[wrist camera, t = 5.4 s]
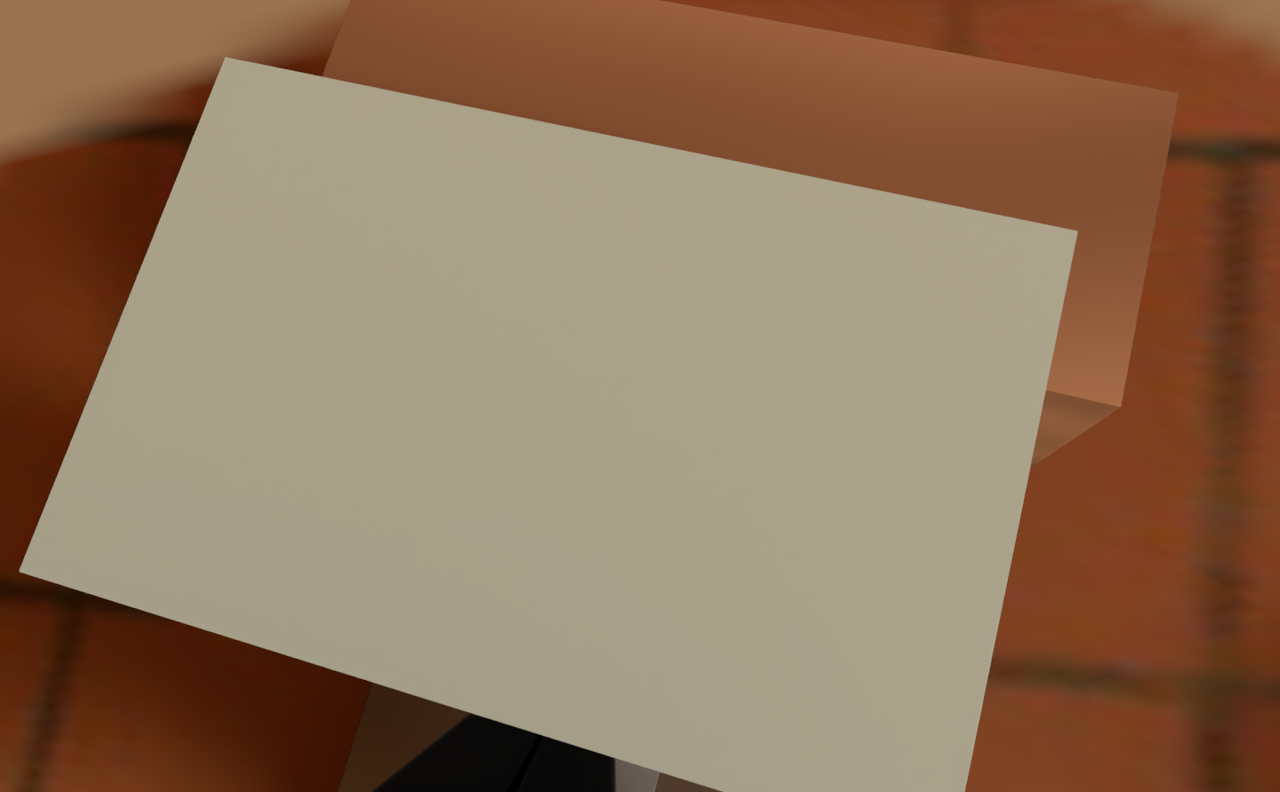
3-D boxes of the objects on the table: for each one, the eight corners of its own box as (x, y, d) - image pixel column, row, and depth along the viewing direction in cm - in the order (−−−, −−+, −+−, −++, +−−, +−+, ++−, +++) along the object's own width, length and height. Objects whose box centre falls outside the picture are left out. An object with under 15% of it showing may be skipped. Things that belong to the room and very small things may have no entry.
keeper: (849, 735, 14) (1000, 878, 5) (437, 613, 15) (-16, 559, 6) (905, 485, 15) (1123, 241, 6) (509, 385, 16) (192, 50, 7)
